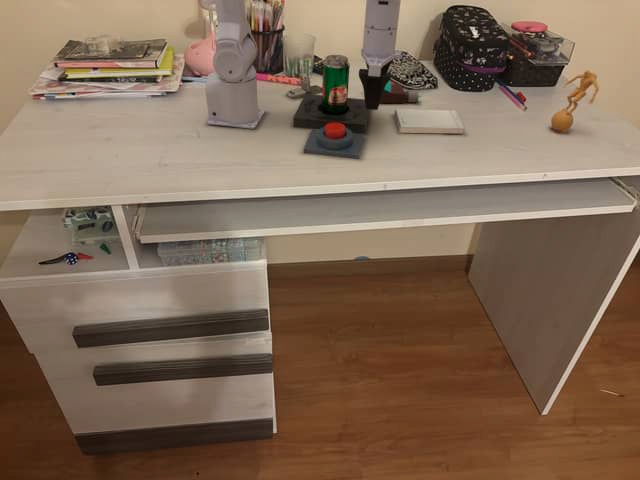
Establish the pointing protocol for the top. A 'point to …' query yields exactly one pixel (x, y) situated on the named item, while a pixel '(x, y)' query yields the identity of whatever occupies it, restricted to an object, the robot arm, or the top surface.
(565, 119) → the figurine
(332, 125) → the power button
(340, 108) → the soda can
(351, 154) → the button box
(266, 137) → the top surface
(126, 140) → the top surface
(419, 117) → the hard drive
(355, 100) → the dock
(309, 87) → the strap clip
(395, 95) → the toy gun
